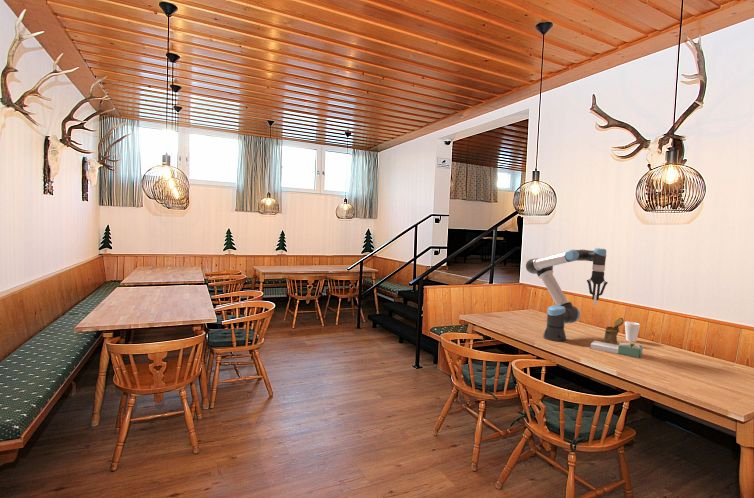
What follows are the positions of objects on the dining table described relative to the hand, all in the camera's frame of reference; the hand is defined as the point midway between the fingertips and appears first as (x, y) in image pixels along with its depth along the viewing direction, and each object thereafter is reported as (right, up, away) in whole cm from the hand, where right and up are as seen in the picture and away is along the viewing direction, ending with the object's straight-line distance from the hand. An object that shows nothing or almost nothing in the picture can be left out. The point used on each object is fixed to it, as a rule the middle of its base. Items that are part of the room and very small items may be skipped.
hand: (594, 304), depth 281 cm
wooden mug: (+17, -28, +7) cm, 34 cm away
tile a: (+11, -26, -16) cm, 33 cm away
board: (+2, -28, -9) cm, 30 cm away
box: (+13, -29, -18) cm, 37 cm away
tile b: (+14, -25, -19) cm, 34 cm away
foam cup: (+35, -29, +17) cm, 49 cm away
